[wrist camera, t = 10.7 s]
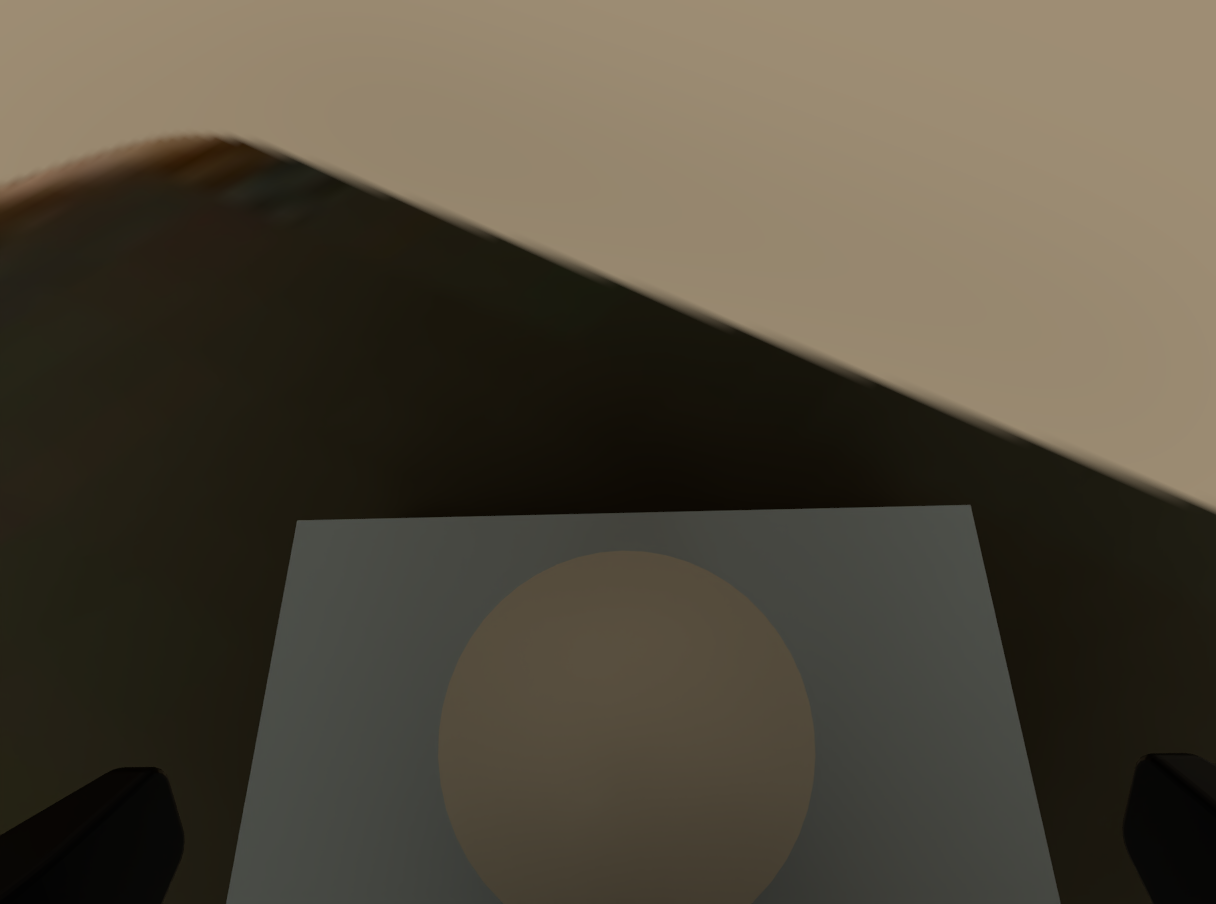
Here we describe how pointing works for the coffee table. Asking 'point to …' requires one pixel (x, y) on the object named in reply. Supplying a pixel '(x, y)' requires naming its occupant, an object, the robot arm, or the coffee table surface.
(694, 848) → the servo
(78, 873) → the robot arm
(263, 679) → the coffee table surface
